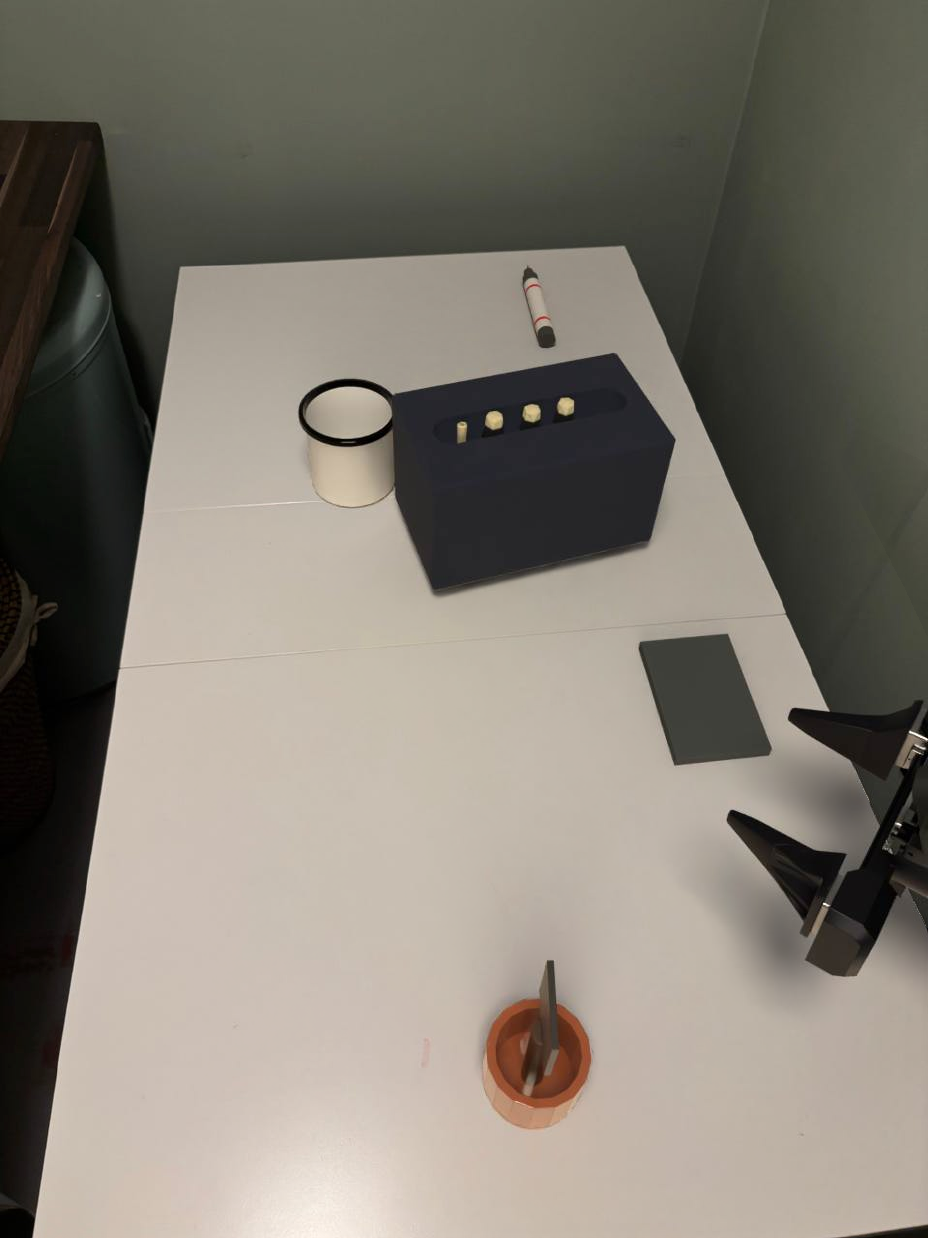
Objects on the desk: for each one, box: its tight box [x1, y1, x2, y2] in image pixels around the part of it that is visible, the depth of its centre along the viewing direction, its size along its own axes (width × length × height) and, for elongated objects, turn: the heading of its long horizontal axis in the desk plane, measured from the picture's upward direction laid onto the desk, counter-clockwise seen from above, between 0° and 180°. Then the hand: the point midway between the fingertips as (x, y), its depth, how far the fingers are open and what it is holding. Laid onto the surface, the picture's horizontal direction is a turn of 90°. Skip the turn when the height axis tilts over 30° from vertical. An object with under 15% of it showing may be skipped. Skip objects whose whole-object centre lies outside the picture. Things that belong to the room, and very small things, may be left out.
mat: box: [638, 633, 773, 766], centre depth 84 cm, size 12×8×1 cm, turn 8°
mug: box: [297, 378, 395, 508], centre depth 97 cm, size 12×10×9 cm
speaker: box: [391, 352, 677, 591], centre depth 90 cm, size 22×13×15 cm, turn 108°
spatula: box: [521, 959, 559, 1086], centre depth 59 cm, size 2×5×14 cm, turn 0°
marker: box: [521, 264, 557, 349], centre depth 119 cm, size 15×2×2 cm, turn 7°
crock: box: [482, 998, 592, 1130], centre depth 63 cm, size 6×6×6 cm
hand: (760, 762), depth 63 cm, fingers open, 9 cm apart
